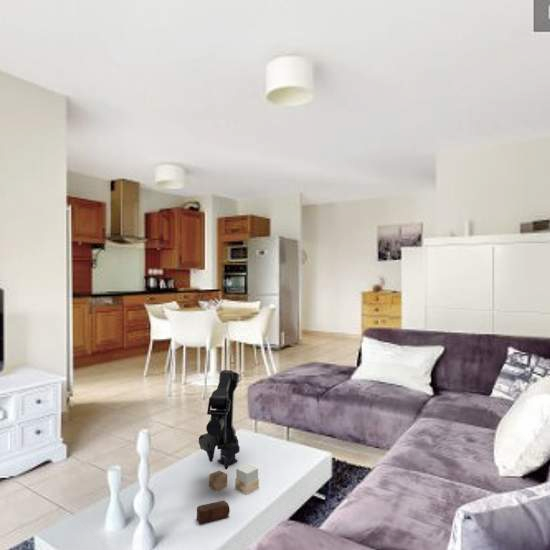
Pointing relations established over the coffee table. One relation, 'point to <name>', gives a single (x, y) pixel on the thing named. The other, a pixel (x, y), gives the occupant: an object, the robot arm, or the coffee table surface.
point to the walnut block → (218, 480)
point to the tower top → (247, 473)
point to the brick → (212, 512)
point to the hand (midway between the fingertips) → (218, 465)
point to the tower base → (246, 486)
